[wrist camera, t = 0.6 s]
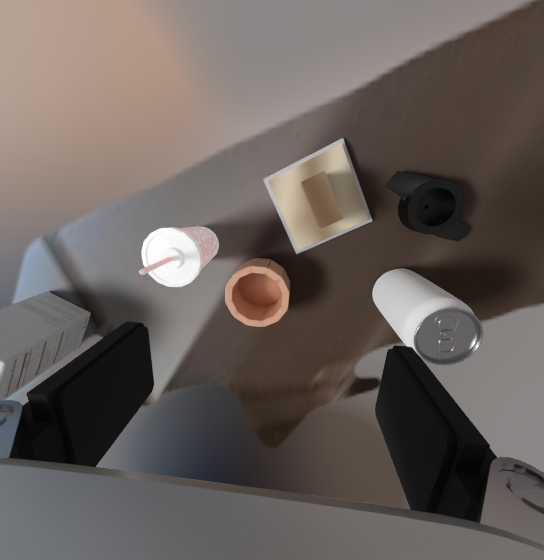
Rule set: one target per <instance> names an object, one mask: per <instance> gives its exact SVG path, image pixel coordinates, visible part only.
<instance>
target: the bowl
mask: <svg viewBox="0 0 544 560" xmlns="http://www.w3.org/2000/svg"><path fill="white" fill-rule="evenodd" d="M289 294H290V280H289V278H288V276H287V274H286V272H285V270H284V269H283V267H281V266H280V265H278V264H277V263H276V262H274V261H273V260H271V259H262V258H256V259H255V258H254V259H252V260H250V261H248V262H245V263H243V264H242V265H241V266H240V267H239V268H238V269H237V271H236V272H235V273H234V274H233V276H232V277H231V279H230V280H229V282H228V283H227V285H226V290H225V301H226V302H225V303H226V304H227V306H228V308H229V310H230V312H231V314H232V315H234V317H235V318H237V319H238V320H240V321H241V322H243V323H244V324H247V325H250V326H258V327H264V326H267V325H270V324H272V323H275V322H277V321H279V319H280V318H281V317H282V316H283V314H284V313H285V312H286V311H287V309H288V302H289Z"/></svg>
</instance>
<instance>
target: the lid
mask: <svg viewBox="0 0 544 560" xmlns="http://www.w3.org/2000/svg"><path fill="white" fill-rule="evenodd" d="M268 182H269V185H270V187H271V189H272V191H273V194H274V196H275V198H276V200H277V203H278V205H279V207H280V209H281V212H282V214H283V216H284V219H285V221H286V223H287V225H288V228H289V230H290V232H291V234H292V237H293V239H294V241H295V243H296V246H297V248H298V250H301V249H303V248H305V247H307V246H310V245H312V244H314V243H316V242H319V241H321V240H323V239H326V238H328V237H330V236H332V235H335V234H337V233H339V232H342V231H344V230H346V229H348V228H351V227H353V226H355V225H357V224H360V223H362V222H364V221H367V220H369V218H368V216H367V213H366V210H365V207H364V204H363V202H362V199H361V196H360V193H359V190H358V188H357V185H356V182H355V179H354V177H353V174H352V171H351V168H350V165H349V163H348V160H347V157H346V154H345V151H344V149H343V146H342V143H341V144H339V145H337V146H335V147H333V148H331V149H329V150H327V151H325V152H323V153H321V154H319V155H318V156H316V157H314V158H312V159H310V160H308V161H306V162H304V163H302V164H300V165H298V166H296V167H294V168H292V169H290V170H288V171H286V172H284V173H282V174H281V175H279V176H277V177H275V178H273V179H271V180H269V181H268Z"/></svg>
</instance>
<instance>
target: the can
mask: <svg viewBox="0 0 544 560" xmlns="http://www.w3.org/2000/svg"><path fill="white" fill-rule="evenodd" d="M372 295H373V300H374V303H375V305H376V306H377V308H378V309H379V310H380V312H381V313H382V315H383V316H384V317H385V319H386V320H387V321H388V323H389V324H390V325H391V327H392V328H393V329H394V331H395V332H396V333H397V334H398V336H399V337H400V338H401V340H402V341H403V342H404V344H405V345H406V346H407V347H412V348H413V349H414V350H415V351H416V353H417V354H418V355H419V356H420V357H422V358H423V359H424V360H426V361H427V362H430V363H433V364H436V365H452V364H456V363H459V362H461V361H464V360H465V359H467V358H469V357H470V356H471V355H472V354H473V353H474V352H475V351H476V350H477V349H478V347H479V346H480V344H481V341H482V338H483V328H482V325H481V322H480V321H479V319H478V318H477V317H476V316H475V315H474V313H473V311H472V310H471V309H470V307H469V306H467V305H466V304H465V303H464V302H462V301H461V300H459V299H458V298H456V297H455V296H453V295H451V294H450V293H448V292H446V291H445V290H443V289H442V288H440V287H438V286H437V285H435V284H433V283H432V282H430V281H429V280H427V279H425V278H424V277H422V276H420V275H419V274H417V273H415V272H413V271H411V270H408V269H403V268H401V269H394V270H391V271H388V272H386V273H385V274H383V275H382V276H381V277H380V278H379V279H378V280H377V281H376V283H375V285H374V288H373V293H372Z"/></svg>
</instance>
